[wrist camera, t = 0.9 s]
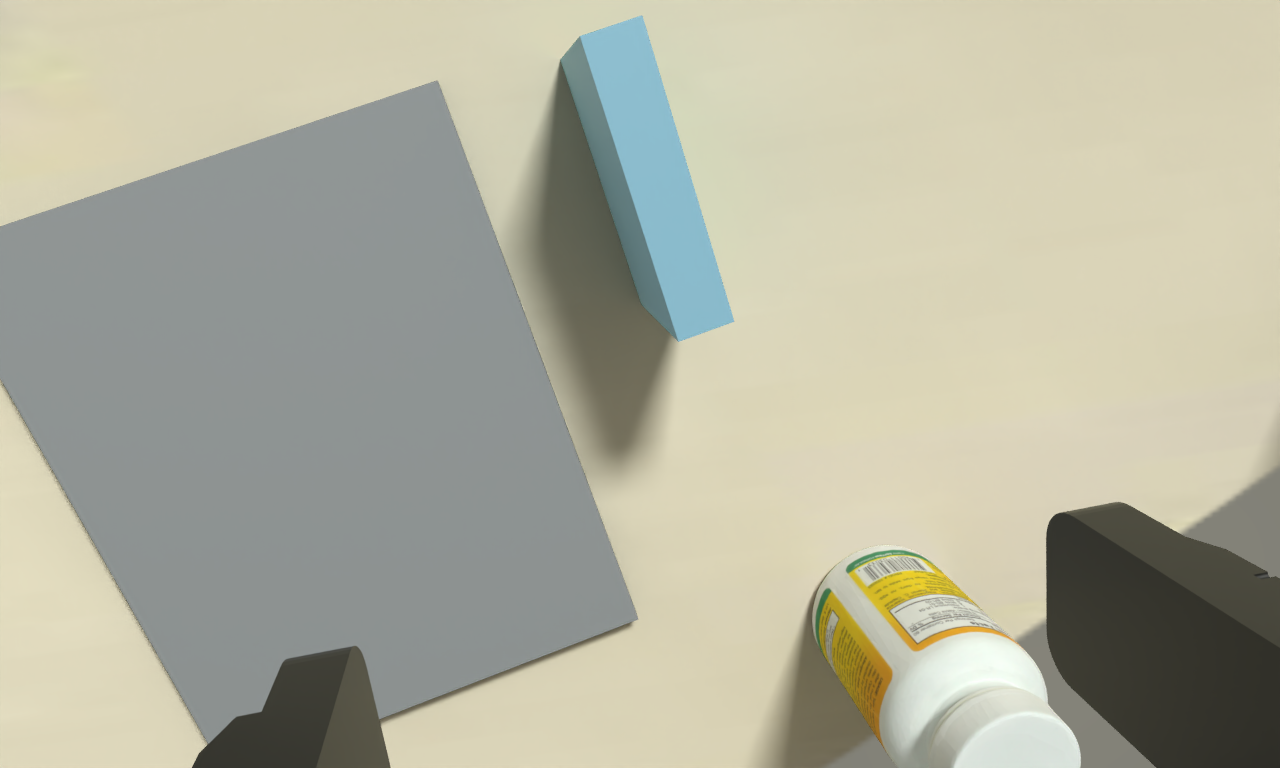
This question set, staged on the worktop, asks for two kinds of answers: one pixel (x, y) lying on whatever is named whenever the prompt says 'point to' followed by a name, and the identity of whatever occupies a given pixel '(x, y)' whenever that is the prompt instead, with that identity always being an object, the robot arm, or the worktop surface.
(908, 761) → the supplement bottle
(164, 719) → the worktop surface
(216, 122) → the worktop surface
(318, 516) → the mat
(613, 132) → the block
